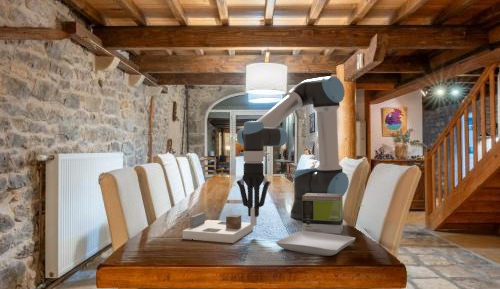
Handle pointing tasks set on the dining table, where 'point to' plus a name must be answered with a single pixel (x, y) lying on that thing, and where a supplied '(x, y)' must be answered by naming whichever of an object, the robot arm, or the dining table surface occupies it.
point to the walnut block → (233, 221)
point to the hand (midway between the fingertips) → (253, 225)
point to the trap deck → (214, 230)
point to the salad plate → (315, 243)
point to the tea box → (322, 213)
